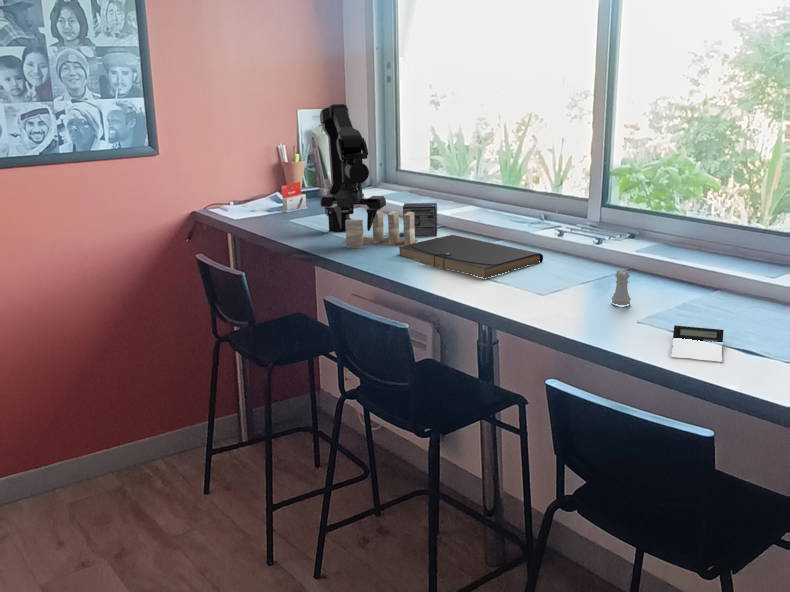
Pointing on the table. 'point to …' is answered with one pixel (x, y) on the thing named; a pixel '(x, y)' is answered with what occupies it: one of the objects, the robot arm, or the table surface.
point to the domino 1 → (354, 233)
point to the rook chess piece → (621, 289)
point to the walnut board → (385, 242)
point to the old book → (470, 255)
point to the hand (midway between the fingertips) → (354, 229)
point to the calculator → (698, 333)
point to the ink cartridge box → (293, 198)
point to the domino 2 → (378, 227)
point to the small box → (423, 218)
